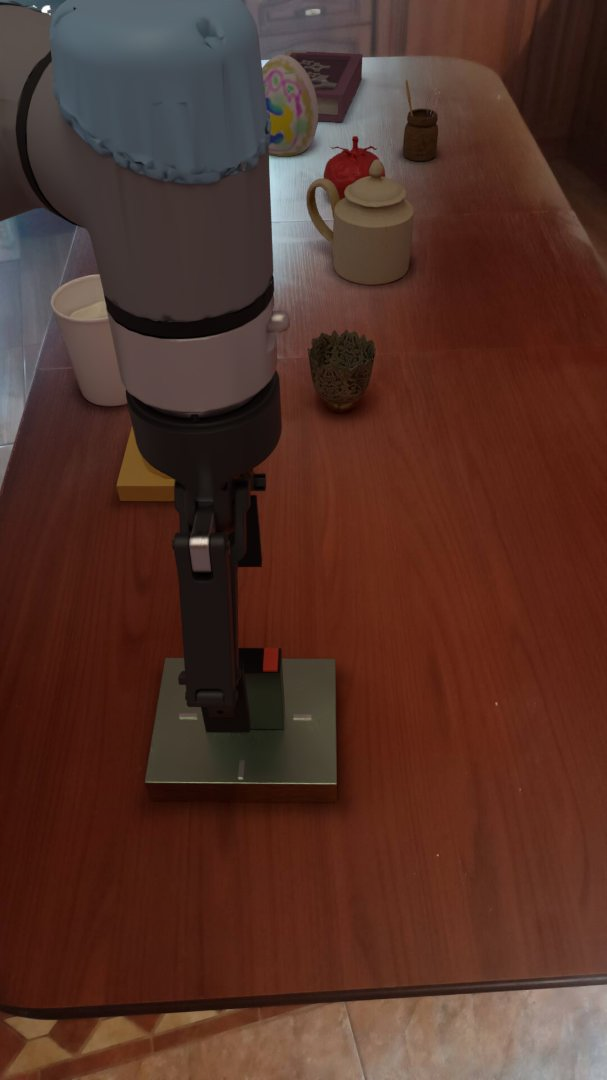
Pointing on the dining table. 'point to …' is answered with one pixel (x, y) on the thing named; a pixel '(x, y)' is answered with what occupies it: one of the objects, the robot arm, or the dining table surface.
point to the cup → (341, 368)
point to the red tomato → (349, 166)
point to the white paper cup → (89, 340)
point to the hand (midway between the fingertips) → (236, 638)
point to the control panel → (248, 744)
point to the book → (331, 80)
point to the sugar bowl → (367, 227)
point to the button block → (142, 478)
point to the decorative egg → (289, 106)
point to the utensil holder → (420, 132)
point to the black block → (264, 686)
